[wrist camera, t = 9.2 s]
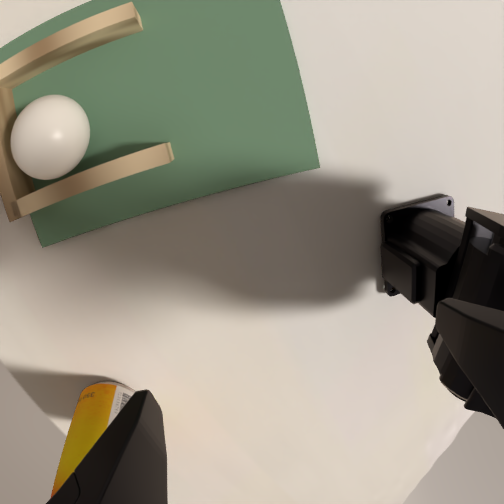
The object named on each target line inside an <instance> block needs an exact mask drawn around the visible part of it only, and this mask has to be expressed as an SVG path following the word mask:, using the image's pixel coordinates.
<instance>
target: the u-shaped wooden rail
mask: <svg viewBox="0 0 504 504" xmlns="http://www.w3.org/2000/svg"><path fill="white" fill-rule="evenodd" d="M141 31H143V27H142V22H141V18H140V15H139V14H138V12H137V10H136V8H135V6H134V4H133V3H132V2H129V3H126V4H123V5H120V6H118V7H115V8H112V9H109V10H107V11H104V12H102V13H99V14H96V15H94V16H92V17H89V18H87V19H84V20H82V21H80V22H77V23H75V24H73V25H71V26H69V27H67V28H64V29H62V30H60V31H58V32H56V33H54V34H52V35H50V36H48V37H46V38H44V39H42V40H40V41H39V42H37V43H35V44H33V45H31V46H30V47H28V48H26V49H24V50H23V51H21V52H19V53H17V54H16V55H14V56H12V57H11V58H9V59H8V60H6V61H4V62H3V63H1V64H0V194H1V197H2V200H3V204H4V207H5V210H6V213H7V216H8V219H9V222H12V221H14V220H16V219H18V218H21V217H23V216H25V215H27V214H30V213H32V212H34V211H37V210H39V209H41V208H44V207H46V206H49V205H51V204H54V203H56V202H58V201H61V200H63V199H66V198H69V197H71V196H74V195H76V194H79V193H82V192H84V191H87V190H90V189H92V188H95V187H98V186H101V185H103V184H106V183H109V182H112V181H115V180H118V179H121V178H124V177H127V176H130V175H133V174H136V173H139V172H142V171H145V170H148V169H151V168H154V167H158V166H161V165H164V164H168V163H170V162H171V161H173V160H174V155H173V152H172V148H171V144H170V142H168V143H163V144H160V145H157V146H154V147H151V148H147V149H144V150H141V151H138V152H135V153H132V154H129V155H126V156H123V157H120V158H118V159H115V160H112V161H109V162H106V163H104V164H101V165H98V166H96V167H93V168H90V169H88V170H85V171H83V172H80V173H77V174H75V175H72V176H70V177H68V178H65V179H63V180H60V181H58V182H56V183H53V184H51V185H49V186H46V187H44V188H42V189H39V190H37V191H36V190H35V187H34V184H33V180H32V177H31V176H29V175H27V174H26V173H25V172H23V171H22V170H21V169H20V168H19V166H18V165H17V164H16V162H15V160H14V158H13V155H12V151H11V133H12V129H13V126H14V123H15V121H16V119H17V115H16V110H15V104H14V98H13V92H12V89H13V88H15V87H17V86H18V85H20V84H22V83H24V82H26V81H27V80H29V79H31V78H33V77H35V76H36V75H38V74H40V73H42V72H44V71H46V70H48V69H50V68H52V67H54V66H56V65H58V64H60V63H62V62H64V61H67V60H69V59H71V58H73V57H75V56H78V55H80V54H82V53H84V52H87V51H89V50H92V49H94V48H97V47H99V46H102V45H104V44H107V43H109V42H112V41H115V40H117V39H120V38H123V37H126V36H129V35H132V34H135V33H138V32H141Z"/></svg>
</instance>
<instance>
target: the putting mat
mask: <svg viewBox="0 0 504 504" xmlns="http://www.w3.org/2000/svg"><path fill="white" fill-rule="evenodd" d="M129 2H132V3H133V4H134V6H135V8H136V10H137V12H138V14H139V15H140V18H141V22H142V27H143V31H141V32H138V33H135V34H132V35H129V36H126V37H123V38H120V39H117V40H115V41H112V42H109V43H107V44H104V45H102V46H99V47H97V48H94V49H92V50H89V51H87V52H84V53H82V54H80V55H78V56H75V57H73V58H71V59H69V60H67V61H64V62H62V63H60V64H58V65H56V66H54V67H52V68H50V69H48V70H46V71H44V72H42V73H40V74H38V75H36V76H35V77H33V78H31V79H29V80H27V81H26V82H24V83H22V84H20V85H18V86H17V87H15V88H13V89H12V92H13V98H14V104H15V110H16V115H17V117H18V116H19V114H20V113H21V111H22V110H23V109H24V108H25V107H26V106H27V105H28V104H30V103H31V102H33V101H34V100H36V99H38V98H40V97H43V96H47V95H63V96H66V97H69V98H71V99H73V100H74V101H76V102H77V103H78V104H79V105H80V106H81V107H82V108H83V110H84V111H85V113H86V115H87V117H88V121H89V125H90V139H89V144H88V147H87V150H86V152H85V155H84V156H83V158H82V159H81V161H80V162H79V163H78V165H77V166H76V167H75V168H74V169H72V170H71V171H70V172H68V173H67V174H65V175H63V176H61V177H59V178H55V179H50V180H42V179H37V178H33V177H32V180H33V184H34V187H35V190H36V191H37V190H39V189H42V188H44V187H46V186H49V185H51V184H53V183H56V182H58V181H60V180H63V179H65V178H68V177H70V176H72V175H75V174H77V173H80V172H83V171H85V170H88V169H90V168H93V167H96V166H98V165H101V164H104V163H106V162H109V161H112V160H115V159H118V158H120V157H123V156H126V155H129V154H132V153H135V152H138V151H141V150H144V149H147V148H151V147H154V146H157V145H160V144H163V143H168V142H170V144H171V148H172V152H173V155H174V160H173V161H171V162H170V163H168V164H164V165H161V166H158V167H154V168H151V169H148V170H145V171H142V172H139V173H136V174H133V175H130V176H127V177H124V178H121V179H118V180H115V181H112V182H109V183H106V184H103V185H101V186H98V187H95V188H92V189H90V190H87V191H84V192H82V193H79V194H76V195H74V196H71V197H69V198H66V199H63V200H61V201H58V202H56V203H54V204H51V205H49V206H46V207H44V208H41V209H39V210H37V211H34V212H32V213H30V216H31V218H32V221H33V224H34V227H35V230H36V232H37V235H38V238H39V240H40V243H41V245H42V248H43V247H46V246H48V245H51V244H54V243H57V242H60V241H62V240H65V239H68V238H71V237H74V236H77V235H80V234H82V233H85V232H88V231H91V230H94V229H97V228H100V227H103V226H106V225H109V224H113V223H116V222H119V221H122V220H125V219H128V218H131V217H135V216H138V215H141V214H144V213H148V212H151V211H154V210H158V209H161V208H164V207H168V206H171V205H175V204H178V203H181V202H185V201H189V200H192V199H196V198H199V197H203V196H207V195H210V194H214V193H218V192H221V191H225V190H229V189H233V188H237V187H241V186H244V185H248V184H252V183H256V182H260V181H265V180H269V179H273V178H277V177H281V176H286V175H290V174H294V173H299V172H303V171H307V170H312V169H317V168H320V165H319V159H318V154H317V149H316V144H315V139H314V134H313V129H312V125H311V120H310V115H309V111H308V106H307V102H306V97H305V93H304V89H303V85H302V80H301V76H300V72H299V68H298V64H297V60H296V56H295V53H294V49H293V45H292V41H291V38H290V34H289V30H288V27H287V23H286V20H285V16H284V13H283V9H282V6H281V3H280V0H92V1H89V2H87V3H84V4H82V5H80V6H78V7H75V8H73V9H71V10H69V11H67V12H64V13H62V14H60V15H58V16H56V17H54V18H52V19H50V20H48V21H46V22H44V23H42V24H41V25H39V26H37V27H35V28H33V29H31V30H30V31H28V32H26V33H24V34H23V35H21V36H19V37H18V38H16V39H14V40H13V41H11V42H9V43H8V44H6V45H5V46H3V47H2V48H0V64H1V63H3V62H4V61H6V60H8V59H9V58H11V57H12V56H14V55H16V54H17V53H19V52H21V51H23V50H24V49H26V48H28V47H30V46H31V45H33V44H35V43H37V42H39V41H40V40H42V39H44V38H46V37H48V36H50V35H52V34H54V33H56V32H58V31H60V30H62V29H64V28H67V27H69V26H71V25H73V24H75V23H77V22H80V21H82V20H84V19H87V18H89V17H92V16H94V15H96V14H99V13H102V12H104V11H107V10H109V9H112V8H115V7H118V6H120V5H123V4H126V3H129Z"/></svg>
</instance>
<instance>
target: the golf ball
mask: <svg viewBox="0 0 504 504" xmlns="http://www.w3.org/2000/svg"><path fill="white" fill-rule="evenodd" d="M89 139H90V125H89V121H88V117H87V115H86V113H85V111H84V110H83V108H82V107H81V106H80V105H79V104H78V103H77V102H76V101H74V100H73V99H71V98H69V97H66V96H63V95H47V96H43V97H40V98H38V99H36V100H34V101H33V102H31V103H30V104H28V105H27V106H26V107H25V108H24V109H23V110H22V111H21V113H20V114H19V116H18V117H17V119H16V121H15V123H14V126H13V129H12V133H11V151H12V155H13V158H14V160H15V162H16V164H17V165H18V166H19V168H20V169H21V170H22V171H23V172H25V173H26V174H27V175H29V176H31V177H33V178H37V179H42V180H50V179H55V178H59V177H61V176H63V175H65V174H67V173H68V172H70V171H71V170H72V169H74V168H75V167H76V166H77V165H78V163H79V162H80V161H81V159H82V158H83V156H84V155H85V152H86V150H87V147H88V144H89Z"/></svg>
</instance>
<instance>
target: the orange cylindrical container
mask: <svg viewBox="0 0 504 504" xmlns="http://www.w3.org/2000/svg"><path fill="white" fill-rule="evenodd" d="M134 393H135V391H134V390H133V389H131V388H129V387H127V386H125V385H123V384H120V383H116V382H109V381H105V382H99V383H96V384H94V385H90V386H88V387H86V388H85V389H84V390H83V391H82V393H81V395H80V397H79V400H78V403H77V406H76V409H75V412H74V415H73V419H72V422H71V425H70V428H69V431H68V435H67V438H66V441H65V445H64V448H63V452H62V455H61V459H60V463H59V466H58V470H57V474H56V478H55V482H54V486H53V490H52V494H51V498H52V496H53V495H54V494H55V493H56V492H57V491H58V490H59V488H60V487H61V486H62V485H63V484H64V482H65V481H66V480H67V479H68V477H69V476H70V475H71V473H72V472H74V470H75V468H76V467H77V466H78V464H79V463H80V462H81V461H82V459H83V458H84V457H85V455H86V454H87V453H88V452H89V450H90V449H91V448H92V446H93V445H94V444H95V443H96V441H97V440H98V439H99V437H100V436H101V435H102V434H103V432H104V431H105V430H106V428H107V427H108V426H109V425H110V423H111V422H112V421H113V419H114V418H115V417H116V416H117V414H118V413H119V412H120V411H121V409H122V408H123V407H124V405H125V404H126V403H127V402H128V400H129V399H130V398H131V396H132V395H133V394H134Z"/></svg>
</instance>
